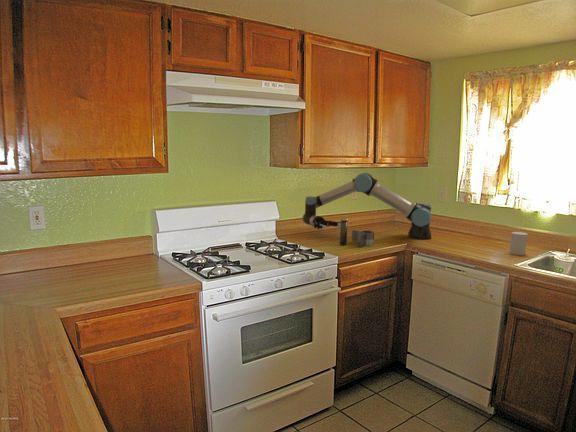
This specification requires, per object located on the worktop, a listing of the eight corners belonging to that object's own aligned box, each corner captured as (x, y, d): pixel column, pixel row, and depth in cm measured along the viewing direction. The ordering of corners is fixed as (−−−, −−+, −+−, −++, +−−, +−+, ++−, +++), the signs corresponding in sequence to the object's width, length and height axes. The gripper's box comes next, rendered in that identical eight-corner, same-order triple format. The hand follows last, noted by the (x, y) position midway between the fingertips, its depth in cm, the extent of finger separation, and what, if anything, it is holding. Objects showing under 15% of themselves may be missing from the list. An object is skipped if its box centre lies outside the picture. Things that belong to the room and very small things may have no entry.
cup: (528, 255, 241) (530, 234, 239) (514, 255, 241) (517, 234, 239) (519, 251, 249) (521, 231, 247) (506, 251, 249) (508, 231, 247)
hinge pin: (341, 243, 260) (342, 217, 257) (348, 244, 257) (349, 218, 255) (338, 244, 256) (339, 218, 253) (344, 246, 253) (346, 219, 251)
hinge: (354, 241, 267) (355, 228, 266) (375, 244, 259) (376, 231, 258) (345, 245, 255) (345, 232, 254) (366, 248, 248) (367, 235, 246)
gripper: (332, 225, 288) (350, 231, 270) (301, 228, 277) (317, 234, 259) (333, 215, 287) (351, 220, 269) (301, 217, 276) (318, 222, 257)
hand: (334, 227), depth 263 cm, fingers open, 13 cm apart
